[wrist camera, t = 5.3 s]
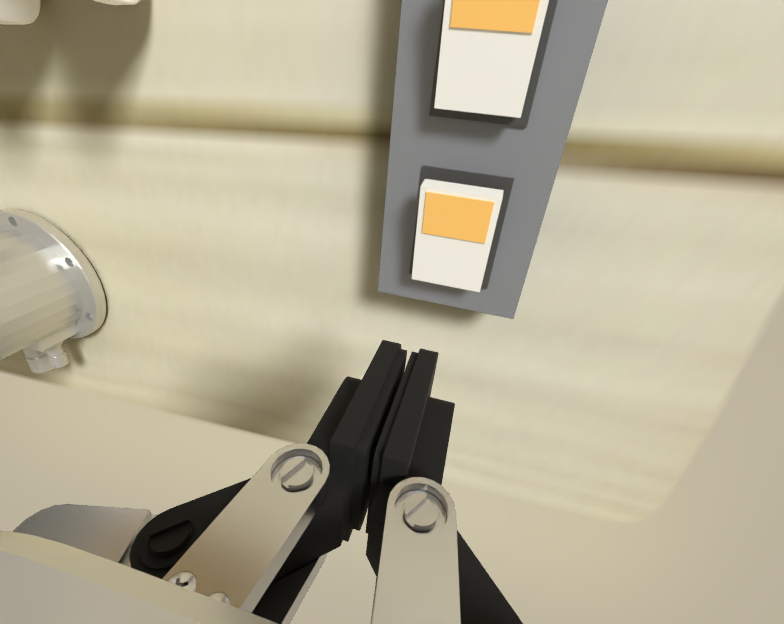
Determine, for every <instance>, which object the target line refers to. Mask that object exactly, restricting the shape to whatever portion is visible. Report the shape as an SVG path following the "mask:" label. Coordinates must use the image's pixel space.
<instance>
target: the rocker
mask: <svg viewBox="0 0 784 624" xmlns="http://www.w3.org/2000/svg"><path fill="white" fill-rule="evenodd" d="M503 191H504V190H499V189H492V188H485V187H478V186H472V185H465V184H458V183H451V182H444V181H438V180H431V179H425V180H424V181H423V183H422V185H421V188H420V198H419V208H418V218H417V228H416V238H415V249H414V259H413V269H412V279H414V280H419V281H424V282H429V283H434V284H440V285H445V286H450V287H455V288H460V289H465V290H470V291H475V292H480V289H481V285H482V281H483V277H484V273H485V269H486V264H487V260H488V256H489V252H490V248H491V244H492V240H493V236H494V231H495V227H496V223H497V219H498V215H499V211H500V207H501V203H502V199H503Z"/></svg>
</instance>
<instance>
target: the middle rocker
mask: <svg viewBox="0 0 784 624" xmlns="http://www.w3.org/2000/svg"><path fill="white" fill-rule="evenodd" d="M548 3H549V0H445V7H444V16H443V26H442V36H441V46H440V56H439V66H438V76H437V86H436V96H435V106H434V108H437V109H446V110H454V111H463V112H472V113H481V114H490V115H499V116H508V117H517V118H521V114H522V110H523V106H524V102H525V98H526V93H527V89H528V85H529V81H530V77H531V73H532V69H533V65H534V60H535V56H536V52H537V48H538V44H539V40H540V36H541V32H542V27H543V23H544V19H545V15H546V11H547V7H548Z"/></svg>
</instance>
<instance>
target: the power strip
mask: <svg viewBox="0 0 784 624" xmlns="http://www.w3.org/2000/svg"><path fill="white" fill-rule="evenodd" d="M607 2H608V0H549V3H548V7H547V11H546V15H545V19H544V23H543V27H542V32H541V36H540V40H539V44H538V48H537V52H536V56H535V60H534V65H533V69H532V73H531V77H530V81H529V85H528V89H527V93H526V98H525V102H524V106H523V110H522V114H521V118H517V117H508V116H499V115H490V114H481V113H472V112H463V111H454V110H446V109H437V108H434V106H435V96H436V86H437V76H438V66H439V56H440V46H441V36H442V26H443V16H444V7H445V0H402V4H401V16H400V28H399V40H398V52H397V64H396V76H395V88H394V100H393V113H392V125H391V137H390V149H389V161H388V173H387V185H386V197H385V209H384V221H383V233H382V245H381V258H380V270H379V282H378V291H379V292H384V293H389V294H394V295H399V296H404V297H408V298H413V299H418V300H423V301H428V302H433V303H438V304H442V305H447V306H452V307H457V308H462V309H467V310H472V311H477V312H481V313H486V314H491V315H496V316H501V317H506V318H511V319H513V318H514V315H515V312H516V308H517V305H518V302H519V298H520V295H521V291H522V288H523V285H524V281H525V278H526V275H527V271H528V268H529V264H530V261H531V258H532V254H533V251H534V248H535V244H536V241H537V238H538V234H539V231H540V227H541V224H542V221H543V217H544V214H545V211H546V207H547V204H548V200H549V197H550V194H551V190H552V187H553V184H554V180H555V177H556V173H557V170H558V167H559V163H560V160H561V157H562V153H563V150H564V146H565V143H566V140H567V136H568V133H569V130H570V126H571V123H572V120H573V116H574V113H575V109H576V106H577V103H578V99H579V96H580V93H581V89H582V86H583V82H584V79H585V76H586V72H587V69H588V66H589V62H590V59H591V55H592V52H593V49H594V45H595V42H596V39H597V35H598V32H599V29H600V25H601V22H602V18H603V15H604V12H605V8H606V5H607ZM425 179H431V180H438V181H444V182H451V183H458V184H465V185H472V186H478V187H485V188H492V189H499V190H504V191H503V199H502V203H501V207H500V211H499V215H498V219H497V223H496V227H495V231H494V236H493V240H492V244H491V248H490V252H489V256H488V260H487V264H486V269H485V273H484V277H483V281H482V285H481V289H480V292H475V291H470V290H465V289H460V288H455V287H450V286H445V285H440V284H434V283H429V282H424V281H419V280H414V279H412V269H413V259H414V249H415V238H416V228H417V218H418V208H419V198H420V188H421V185H422V183H423V181H424V180H425Z"/></svg>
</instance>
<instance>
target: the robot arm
mask: <svg viewBox="0 0 784 624" xmlns="http://www.w3.org/2000/svg"><path fill="white" fill-rule="evenodd" d="M105 316H106V301H105V295H104V291H103V288H102V285H101V283H100V281H99V278H98V276H97V274H96V272H95V270H94V269H93V267H92V266H91V264H90V263H89V261H88V259H87V258H86V257H85V256H84V254H83V253H82V252H81V250H80V249H79V248H78V247H77V246H76V245H75V244H74V243H73V242H72V241H71V240H70V239H69V238H68V237H67V236H66V235H65V234H64V233H63V232H61V231H60V230H59V229H58V228H57V227H55V226H54V225H52V224H51V223H49V222H48V221H46V220H44V219H43V218H41V217H39V216H36V215H34V214H32V213H30V212H26V211H22V210H18V209H7V210H2V211H0V360H2V359H4V358H6V357H8V356H10V355H12V354H14V353H16V352H18V351H20V350H23V352H24V354H25V359H26V361H27V363H28V365H29V367H30V369H31V371H32V372H33V373H45V372H48V371H50V370H52V369H53V368H60V367H63V366H66V365H67V364H68V363H69V360H68V358H67V355H66V353H65V351H64V350H63V348H62V346H61V345H62V344H63V341H64V340H65V339H67V338H73V339H74V338H82V337H85V336H87V335H89V334H91V333H93V332H94V331H96V330H97V329H99V328H100V326H101V325H102V324H103V322H104V319H105ZM406 356H407V350H403V349H401V344H398V343H394V342H390V341H385V340H383V341H382V342H381V344H380V346H379V348H378V350H377V352H376V354H375V356H374V358H373V360H372V361H371V363H370V365H369V367H368V369H367V371H366V373H365V375H364V377H363V379H362V380H360V379H356V378H352V377H346V378H345V380H344V381H343V383H342V384H341V386H340V388H339V390H338V391H337V393H336V395H335V396H334V398H333V400H332V402H331V403H330V405H329V407H328V408H327V410H326V412H325V414H324V415H323V417H322V419H321V420H320V422H319V424H318V425H317V427H316V429H315V431H314V432H313V434H312V436H311V437H310V439H309V441H308V443H307V444H299V443H297V444H292V445H288V446H285V447H283V448H281V449H279V450H278V451H276V452H275V453H274V454H273V455H272V456H271V457H270V458H269V459H268V460H267V461H266V462H265V463H264V465H263V466H262V467H261V468H260V469H259V470H258V471H257V472H256V474H255V475H254V476H253V477H252V478H250V479H248V480H245V481H242V482H240V483H237V484H234V485H232V486H229V487H227V488H224V489H221V490H218V491H216V492H213V493H211V494H208V495H205V496H203V497H200V498H197V499H195V500H192V501H190V502H187V503H184V504H181V505H179V506H176V507H174V508H171V509H169V510H167V511H165V512H163V513H161V514H159V515H154V514H151V512H150V510H147V509H131V508H117V507H103V506H88V505H73V504H63V505H54V506H51V507H49V508H46V509H43V510H40V511H39V512H37V513H35V514H34V515H32V516H31V517H29V518H27V519H26V520H25V521H23V522H22V523H21V524H20V525H19V526H18V527H17V528H16V529H15V530H14V531H13V532H11V531H0V624H290V622H291V620H292V619H293V617H294V615H295V613H296V611H297V609H298V608H299V606H300V604H301V602H302V600H303V599H304V597H305V595H306V593H307V592H308V590H309V588H310V586H311V585H312V583H313V581H314V579H315V577H316V576H317V574H318V572H319V570H320V568H321V567H322V564H323V563H324V561H325V558H326V555H327V553H328V552H330V551H332V550H334V549H336V548H338V547H339V546H341V543H342V541H343V540H345V541H348V540H349V538H350V535H351V532H352V530H353V529H356V530H360V529H361V526H362V524H363V521H364V518H365V515H366V512H367V509H368V515H367V524H366V533H368V541H367V550H366V556H367V558H368V560H369V562H370V564H371V566H372V568H373V570H374V572H375V574H376V576H377V578H376V586H375V593H374V601H373V608H372V616H371V624H523V623H522V622H521V621H520V619H519V617H518V616H517V614H516V613H515V612H514V610H513V609H512V607H511V606H510V605H509V603H508V602H507V600H506V599H505V598H504V596H503V595H502V593H501V592H500V590H499V589H498V588H497V586H496V585H495V583H494V582H493V580H492V579H491V578H490V576H489V575H488V573H487V572H486V570H485V569H484V568H483V566H482V565H481V563H480V562H479V560H478V559H477V558H476V556H475V555H474V554H473V552H472V550H471V549H470V548H469V546H468V545H467V543H466V542H465V541H464V539H463V538H462V536H461V535H460V533H459V532H458V531H457V524H456V510H455V505H454V502H453V500H452V498H451V497H450V494H449V493H448V492H447V491H446V490H445V489H444V488H443V487H442V486H441V484H442V478H443V472H444V466H445V460H446V454H447V448H448V442H449V436H450V430H451V424H452V418H453V412H454V406H455V403H451V402H448V401H444V400H440V399H436V398H432V397H430V394H431V389H432V384H433V379H434V374H435V369H436V363H437V358H438V352H433V351H429V350H425V349H420V350H419V353H416V352H412V353H411V356H410V358H409V361H408V364H407V366H406V369H405V363H406ZM404 370H405V372H404Z"/></svg>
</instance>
